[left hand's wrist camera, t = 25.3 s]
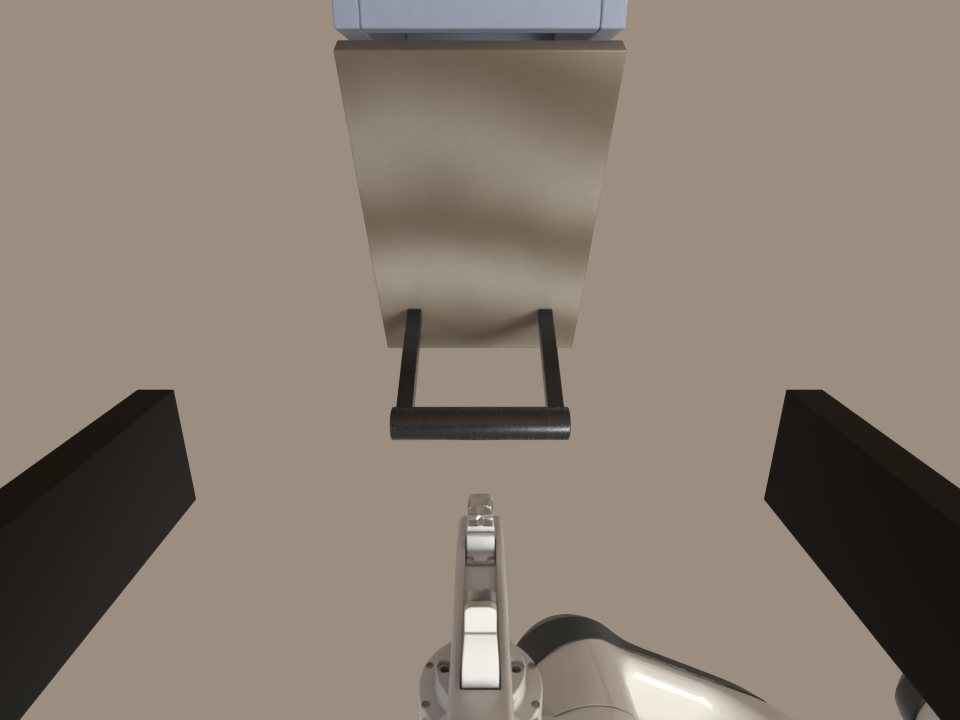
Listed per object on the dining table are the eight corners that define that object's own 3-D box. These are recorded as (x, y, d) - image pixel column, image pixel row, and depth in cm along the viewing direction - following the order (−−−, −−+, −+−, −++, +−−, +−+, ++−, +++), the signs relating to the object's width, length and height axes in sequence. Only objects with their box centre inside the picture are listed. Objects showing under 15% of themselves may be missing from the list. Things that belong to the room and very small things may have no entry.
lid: (570, 336, 31) (588, 468, 26) (389, 336, 31) (371, 468, 26) (622, 39, 20) (675, 169, 15) (337, 39, 20) (285, 169, 15)
